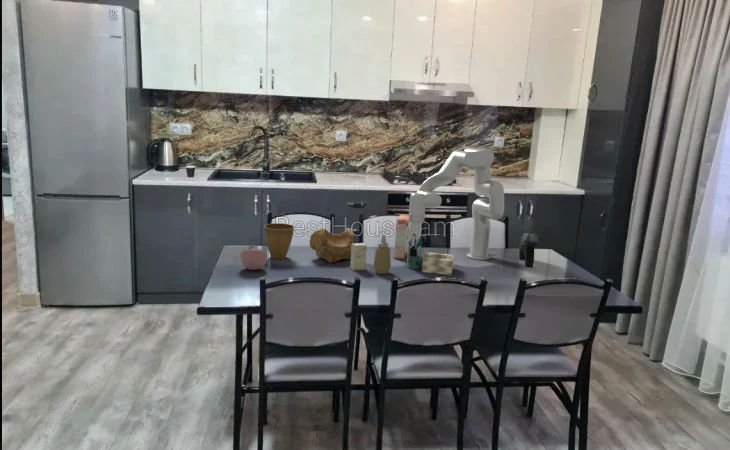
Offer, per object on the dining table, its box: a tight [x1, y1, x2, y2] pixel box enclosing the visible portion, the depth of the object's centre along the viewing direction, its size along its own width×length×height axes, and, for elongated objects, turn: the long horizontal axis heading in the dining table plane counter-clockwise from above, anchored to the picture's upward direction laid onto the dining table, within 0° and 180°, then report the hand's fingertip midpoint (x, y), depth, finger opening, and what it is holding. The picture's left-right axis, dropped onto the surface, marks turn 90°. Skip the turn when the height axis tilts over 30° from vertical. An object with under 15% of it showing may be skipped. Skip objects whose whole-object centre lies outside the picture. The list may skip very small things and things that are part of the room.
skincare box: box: [349, 242, 367, 271], centre depth 260 cm, size 6×4×12 cm
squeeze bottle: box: [373, 234, 392, 275], centre depth 255 cm, size 8×8×18 cm
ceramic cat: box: [518, 226, 539, 268], centre depth 285 cm, size 20×6×20 cm, turn 177°
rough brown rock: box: [309, 228, 355, 264], centre depth 273 cm, size 23×17×15 cm
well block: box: [421, 251, 455, 276], centre depth 265 cm, size 14×12×7 cm
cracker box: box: [393, 214, 410, 260], centre depth 287 cm, size 14×6×21 cm, turn 168°
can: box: [406, 236, 423, 270], centre depth 267 cm, size 6×6×15 cm
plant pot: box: [263, 222, 295, 260], centre depth 273 cm, size 15×15×16 cm
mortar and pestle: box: [239, 244, 268, 271], centre depth 251 cm, size 12×12×12 cm
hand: (414, 254), depth 267 cm, fingers closed on can, 6 cm apart
